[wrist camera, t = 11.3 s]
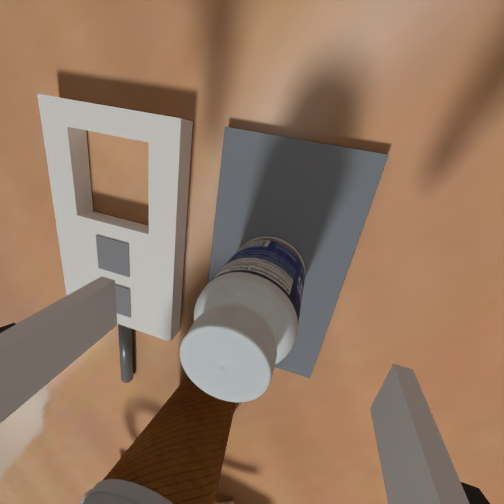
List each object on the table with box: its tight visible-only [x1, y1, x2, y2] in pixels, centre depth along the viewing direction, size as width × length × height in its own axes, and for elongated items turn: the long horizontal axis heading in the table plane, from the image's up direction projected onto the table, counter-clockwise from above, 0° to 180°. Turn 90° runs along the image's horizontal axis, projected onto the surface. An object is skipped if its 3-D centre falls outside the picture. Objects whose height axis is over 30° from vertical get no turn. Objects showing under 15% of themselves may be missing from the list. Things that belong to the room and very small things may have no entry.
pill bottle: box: [180, 236, 305, 403], centre depth 15 cm, size 5×5×10 cm
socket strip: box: [37, 94, 193, 383], centre depth 23 cm, size 27×11×2 cm, turn 171°
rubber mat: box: [208, 127, 388, 378], centre depth 19 cm, size 10×18×1 cm, turn 171°
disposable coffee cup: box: [80, 378, 234, 504], centre depth 22 cm, size 10×10×12 cm
